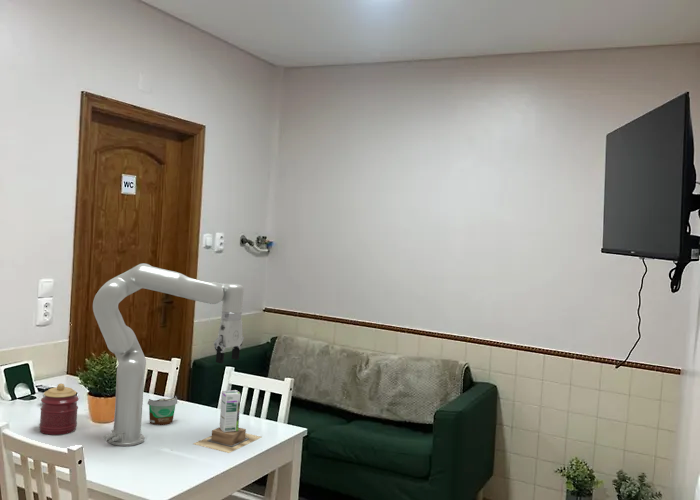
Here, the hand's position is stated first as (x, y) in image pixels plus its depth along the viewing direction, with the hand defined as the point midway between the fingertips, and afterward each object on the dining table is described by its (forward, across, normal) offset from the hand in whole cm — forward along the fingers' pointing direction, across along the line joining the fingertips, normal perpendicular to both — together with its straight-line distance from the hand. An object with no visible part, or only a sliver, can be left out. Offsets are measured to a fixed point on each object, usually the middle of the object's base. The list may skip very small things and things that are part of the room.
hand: (227, 361), depth 245 cm
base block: (+29, -1, -4) cm, 30 cm away
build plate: (+30, -1, -4) cm, 31 cm away
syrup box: (+25, -2, -4) cm, 26 cm away
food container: (+31, +2, +30) cm, 43 cm away
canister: (+31, -29, +54) cm, 69 cm away
